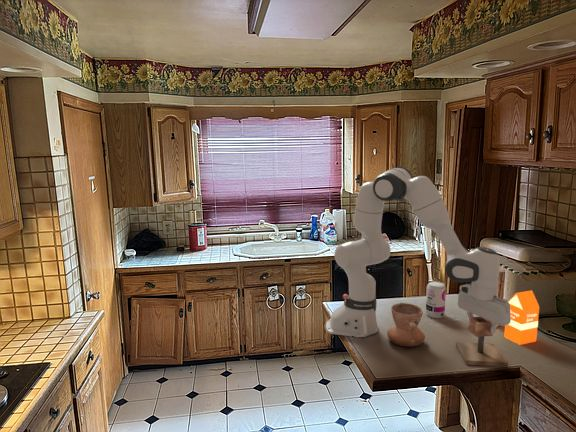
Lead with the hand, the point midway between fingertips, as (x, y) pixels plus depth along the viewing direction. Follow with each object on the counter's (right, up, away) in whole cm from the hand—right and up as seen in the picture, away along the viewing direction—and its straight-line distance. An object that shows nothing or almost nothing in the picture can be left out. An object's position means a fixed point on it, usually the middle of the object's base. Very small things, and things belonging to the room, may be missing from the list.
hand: (481, 327), depth 156 cm
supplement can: (-4, -5, +39) cm, 40 cm away
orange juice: (+22, -9, +15) cm, 28 cm away
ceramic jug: (-24, -9, +14) cm, 30 cm away
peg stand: (0, -11, +2) cm, 11 cm away
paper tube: (+18, -6, +29) cm, 35 cm away
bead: (-1, -2, 0) cm, 2 cm away
